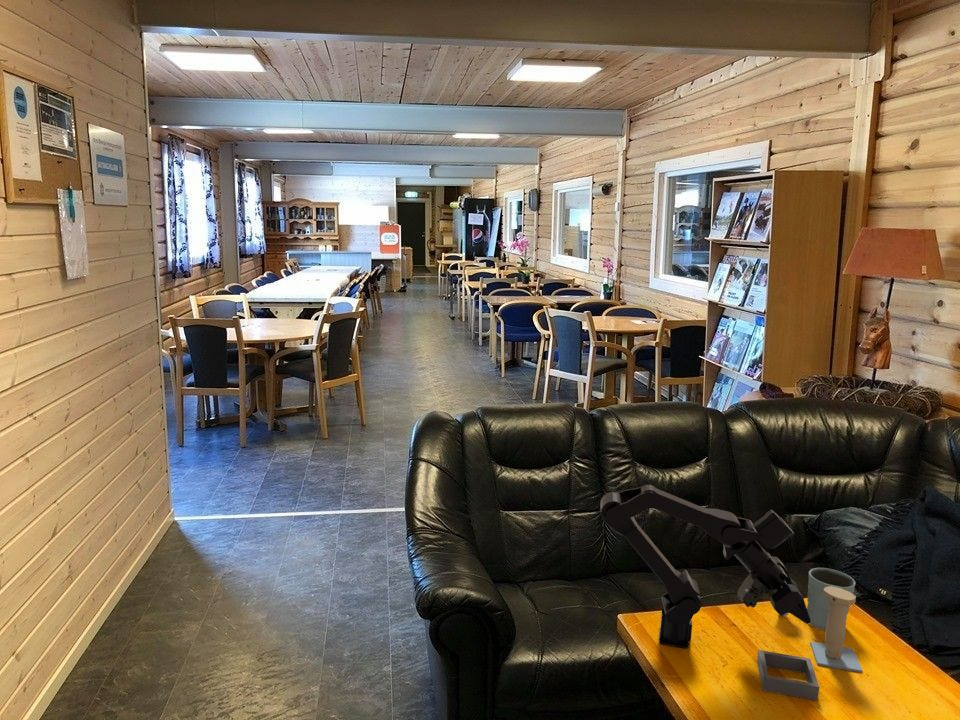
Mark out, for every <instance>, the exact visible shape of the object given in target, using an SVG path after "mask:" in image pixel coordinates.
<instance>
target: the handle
mask: <svg viewBox="0 0 960 720" xmlns="http://www.w3.org/2000/svg"><path fill="white" fill-rule="evenodd" d="M824 596H825V597H826V598H827V599H828V600H829V601H830V608H829V614H828V620H827V625H826V631H824V632H825V634H824V644H825V647H826V648H825V654H826V655H828V657H829V658H834V659H839V658H841V656H842V650H843V647H845V641H846V631H847V630H846V629H847V626H846V625H847V619H846V611H847V606H850V607H851V606H853V605H854V604H856V601H857V599H856V598H857V596H856V594H854V593H853V594H852V593H850V592H848V591H846V590H844V589H841V588H837V587H832V586H829V587H825V588H824Z"/></svg>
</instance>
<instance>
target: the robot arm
mask: <svg viewBox="0 0 960 720" xmlns="http://www.w3.org/2000/svg"><path fill="white" fill-rule="evenodd" d="M599 505H600V516H601V519H602V521H603V522H604V523H605V524H606V525H607V526H609V528H610V529H612V530H613V532H616V533H617V534H619V535H620V536H622V537H624V538H625V539H626V540H627V542H628V543H629V544H630V545H631V547H632V548H633V549H634V550H635V551H636V553H637V554H638V555H639V557H641V559H642V560H643V561H644V562H645V564H646V565H647V566H648V567H649V569H650V570H651V571H652V572H653V573H654V575H656V577H657V578H658V579H659V581H660V582H661V583H662V585H664V586H663V587H664V588H665V590H666V592H665V593H664V594H663V595H661V601H662V604H663V608H661V615H660V616H661V617H660V628H659V630H658V631H659V634H658V643H659V644H661V645H667V646H673V647H677V648H684V649H688V648H689V647H690V646H689V644H690V643H691V640H692V633H693V632H692V631H693V621H692V619H693V617H694V615H696V614H698V612H699V611H700V610H701V608H702V600H701V598H700V596H701V592H700V590H699V589H700V588H699V586H698V583H697V580H694V579H693V578H692V577H691V576H690V574H689V572H688V570H687V569H684V570H683V571H682V572H681V571H679V570H677V569H675V567H674V566H673V565H672V564H671V563H670V561H669V560H668V559H667V558H666V556H665V555H664V554H663V553H662V552H661V551H660V549H659V548H658V547H657V546H656V545H655V544H654V542H653V541H652V539H651V538H650V537H649V536H648V535H647V534H646V532H645V531H644V530H643V529H642V528H641V526H640V525H639V524H638V523H637V520H636V518H635V516H637V515H639V514H640V513H642V512H644V511H646V510H647V509H650V508H652V509H654V510H656V511H658V512H662V513H664V514H667V515H669V516H671V517H674V518H676V519H679V520H680V521H683V522H685V523H688V524H690V525H693V526H696V527H698V528H699V529H700V530H703V532H705V533H707V535H709V536H710V537H711V538H713V539H715V541H718V542H719V543H721V544H722V545H723V550H722V553H723V556H724V558H725V560H726V561H727V560H728V561H729V559H731V558H732V557H736V559H737V560H738V561H739V562H740V563H741V564H742V565H743V566H744V567H745V568H746V570H747V572H748V573H749V574H748V575H747V577H746V578H745V579H744V580H743V582H742V584H740V586H739V588H738V590H737V596H738V599H739V601H740V602H742V603H743V604H744V605H745V607H747V608H749V607H751V608H752V609H753V608H756V606H757V604H758V602H759V601H760V599H761V597H762V595H763V593H764V594H765V595H766V596H767V595H768V594H769V593H771V591H773V590H775V589H777V592H775V593H774V591H773V594H771V595H770V599H769V600H770V601H769V602H770V604H771V606H772V608H773V610H774V611H775V612H776V613H777V614H778V615H779V616H780V615H783V614H786V613H788V614H790V615H792V616H794V617H795V618H797V619H798V620H800V621H802V622H803V623H804V624H805V625H808V624H809V623H810V622H811V620H810V617H809V614H808V611H807V605H806V602H805V598H804V596H803V595H802V593H801V592H800V591H799V590H800V589H799V588H798V589H797V588H796V587H795V586H794V585H793V584H792V582H791V579H792V578H791V577H790V575H789V571H788V570H787V568H786V567H785V565H784V563H783V562H782V561H781V560H780V559H779V557H777V556H771V554H770V553H769V552H768V551H766V550H765V549H764V548H766V549H767V548H768V549H769V550H772V549H773V550H775V549H776V548H778V547H779V546H780V545H781V544H782V543H784V542H785V541H786V540H788V539H789V538H790V537H792V536H793V535H795V533H794V530H792V529H791V527H790V526H789V525H788V523H786V521H785V520H784V519H783V518H782V517H781V516H779V515H778V514H777V513H776V512H775V511H774V510H773V509H770V510H768V511H767V512H766V513H765V514H764V515H763V516H762V517H760V518H759V519H758V520H757V521H755V522H754V523H753V522H752V520H751V519H747V518H743V517H739V516H736V514H735V513H733V512H730V511H727V510H722V509H718V508H707V507H704V506H703V507H702V506H700V505H697V504H695V503H694V502H690V501H688V500H686V499H683V498H680V497H679V496H675V495H673V494H670V493H669V492H666V491H663V490H662V489H659V488H657V487H656V486H654V485H652V484H645V485H642V486H640V487H636V488H629V489H623V490H621V491H618V492H613V491H612V492H608V493H606V494H604V495H603V496H602V497H601V500H600V504H599ZM756 539H757V540H758V541H759V542H760V543H761V544H762V545H761V544H760V543H759V542H758V541H757V540H756ZM762 546H763V547H764V548H763V547H762Z"/></svg>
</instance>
